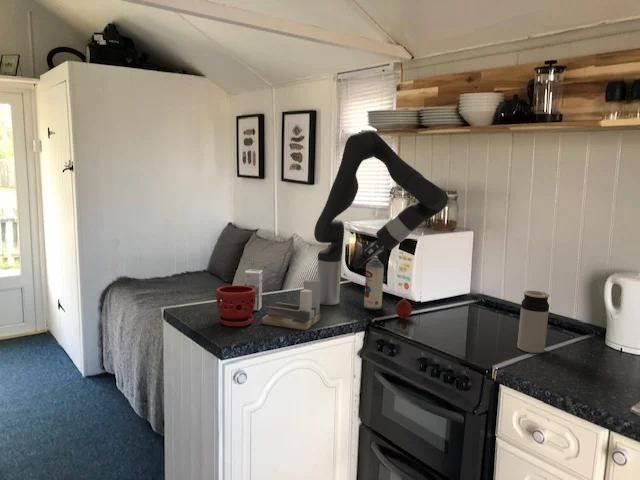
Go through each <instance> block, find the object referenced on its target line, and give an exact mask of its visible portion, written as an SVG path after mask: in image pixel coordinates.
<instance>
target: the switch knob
mask: <svg viewBox="0 0 640 480" xmlns="http://www.w3.org/2000/svg"><path fill="white" fill-rule="evenodd" d="M299 305H300V309H299V310H300V311H307V312H310V319H312V318H313V317H314V311H315V310H311V308H312V290H307V289H304V288H303V289H302V290H300V294H299Z"/></svg>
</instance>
